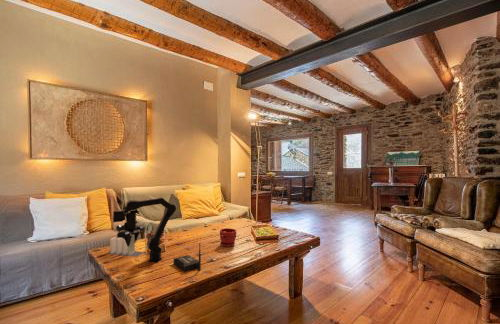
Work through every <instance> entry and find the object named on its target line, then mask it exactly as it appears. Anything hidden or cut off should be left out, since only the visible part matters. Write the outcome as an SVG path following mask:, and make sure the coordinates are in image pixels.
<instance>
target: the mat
mask: <svg viewBox="0 0 500 324" xmlns="http://www.w3.org/2000/svg"><path fill="white" fill-rule="evenodd" d="M144 253H145V251H137V250H135V252H134V253H133V254H131V255H128V253H125V254H122V252H120V253H118V254H116V251H115V252H113V253H110V251H108V252H107V253H105V254H106V255H112V256H113V255H115V256H124V257H126V256H127V257H134V258H135V257H136V258H137V257H139V256H140V255H143V254H144Z"/></svg>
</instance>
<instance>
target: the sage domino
mask: <svg viewBox="0 0 500 324" xmlns="http://www.w3.org/2000/svg"><path fill="white" fill-rule="evenodd" d="M130 236H132V238H131V242H130V245H129V246H127V253H130V252H132V251H134V250H135V251H136V249H135V246H136V245H135V243H136V242H135V235H134V234H130Z"/></svg>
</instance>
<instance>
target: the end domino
mask: <svg viewBox="0 0 500 324" xmlns="http://www.w3.org/2000/svg"><path fill="white" fill-rule="evenodd" d="M116 239H118V237H117V236H114V237H112V238H110V239H109V252H110V253H113V252H115V251H116Z"/></svg>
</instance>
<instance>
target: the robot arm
mask: <svg viewBox="0 0 500 324" xmlns="http://www.w3.org/2000/svg"><path fill="white" fill-rule="evenodd" d="M155 205H157V206H158V205H161V206H162V207H164V209H163V215H162V217H161V219H160V221H159V223H158V226H157V227H156V229H155V231H154V234H153V235H152V236H149V237H148V239H147V241H146V247H147V248H148V249H149V257H148V258H149V260H148V262H151V263H159V261H161V260H163V257H162V248H161V246H160V240H161V236H162V234H163V232H164V230H165V228H166V226H167V224H168V222H169V219H171V217H172V216H173V215H174V214H175V212H176V210H177V207H176V205H174V204H173V203H169V202H168V201H167V200H166V199H164V198H163V197H157V198H150V199H143V200H138V199H137V200H136V199H134V200H133V199H129V200H128V201H126V203H125V206H124V207H123V209H122V210H113V212H112V213H113V214H112V223H118V222H121V223H122V222H124V221H125V222H124V223H123V225H121V224H119V225H116V227H115V228H116V231H117V234H116V237H117V238H118V239H119V238H123V239H125V241H126V244H127V246H129V245H130V242H131V238H132V236H130V235H132V234H134V235H135V243H136V242H137V239H138V237H139V235H140V233H141V232H142V231H144V230H145V227H144V226H143V225H137V224H138V221H137V214H139V213H140V211H139V210H138V209H140V208H143V207H147V206H148V207H149V206H150V207H151V206H155Z"/></svg>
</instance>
